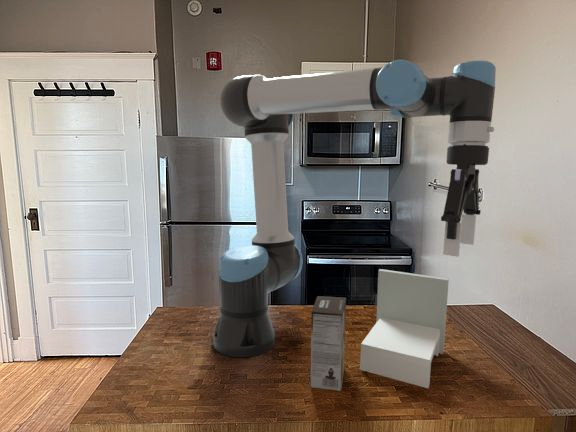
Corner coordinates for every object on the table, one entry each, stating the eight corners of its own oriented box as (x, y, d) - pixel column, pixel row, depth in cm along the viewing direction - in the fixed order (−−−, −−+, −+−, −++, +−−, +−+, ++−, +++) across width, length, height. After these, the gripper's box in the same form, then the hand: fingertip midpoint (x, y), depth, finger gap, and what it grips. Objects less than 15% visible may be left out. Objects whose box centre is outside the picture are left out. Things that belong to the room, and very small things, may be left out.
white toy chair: (355, 368, 81) (358, 288, 79) (377, 336, 96) (380, 269, 94) (433, 389, 74) (439, 302, 71) (443, 351, 89) (448, 278, 86)
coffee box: (315, 364, 83) (316, 294, 81) (344, 367, 82) (346, 297, 80) (309, 388, 74) (310, 310, 72) (342, 392, 73) (344, 313, 71)
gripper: (476, 141, 62) (465, 264, 65) (499, 147, 82) (489, 242, 85) (430, 141, 67) (421, 257, 70) (462, 147, 86) (454, 237, 89)
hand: (459, 249), depth 77 cm, fingers open, 13 cm apart
